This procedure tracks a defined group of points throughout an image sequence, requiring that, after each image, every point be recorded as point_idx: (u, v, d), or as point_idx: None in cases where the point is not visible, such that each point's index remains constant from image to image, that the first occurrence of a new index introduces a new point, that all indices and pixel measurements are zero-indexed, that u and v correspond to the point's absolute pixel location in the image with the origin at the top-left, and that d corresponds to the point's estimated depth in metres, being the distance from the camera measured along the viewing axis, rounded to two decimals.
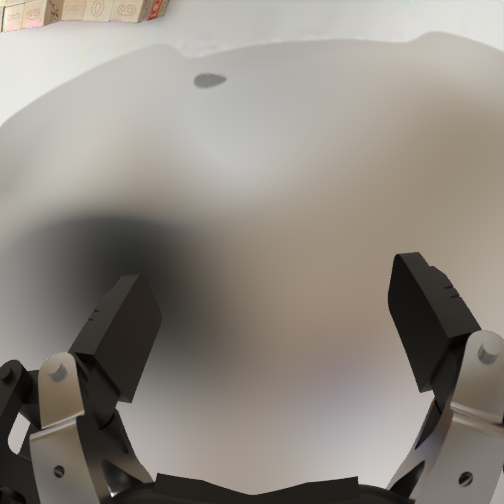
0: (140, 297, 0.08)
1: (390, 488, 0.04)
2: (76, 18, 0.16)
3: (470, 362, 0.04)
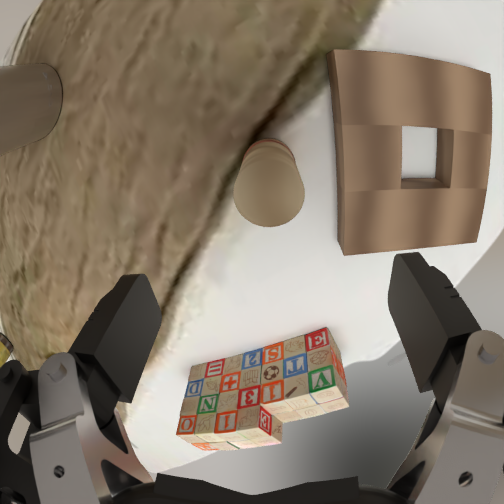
0: (140, 297, 0.08)
1: (390, 488, 0.04)
2: (296, 419, 0.31)
3: (470, 362, 0.04)
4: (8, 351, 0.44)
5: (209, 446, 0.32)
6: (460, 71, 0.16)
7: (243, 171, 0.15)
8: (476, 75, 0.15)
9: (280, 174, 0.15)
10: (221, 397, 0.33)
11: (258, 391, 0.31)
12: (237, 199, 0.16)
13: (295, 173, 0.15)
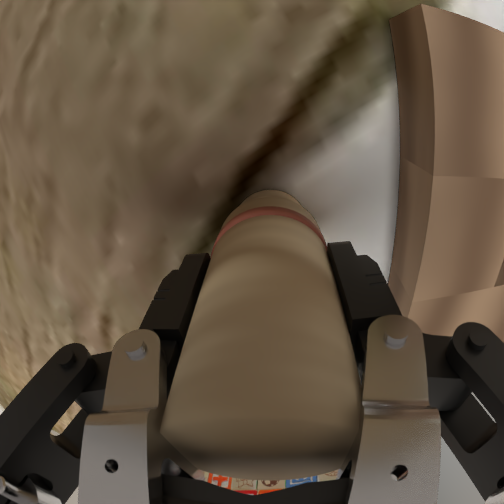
0: None
1: None
2: None
3: (376, 352, 0.05)
4: None
5: None
6: None
7: (174, 425, 0.04)
8: None
9: (305, 438, 0.04)
10: None
11: None
12: None
13: (357, 432, 0.04)
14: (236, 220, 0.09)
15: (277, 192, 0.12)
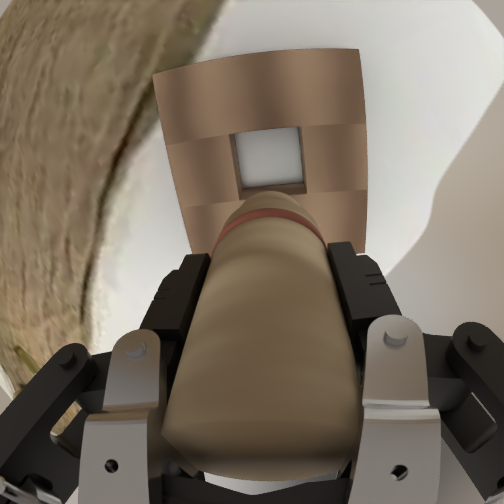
0: None
1: None
2: None
3: (376, 352, 0.05)
4: None
5: None
6: (307, 56, 0.17)
7: (175, 427, 0.04)
8: (334, 55, 0.17)
9: (305, 440, 0.04)
10: None
11: None
12: None
13: (356, 433, 0.04)
14: (236, 222, 0.09)
15: (277, 194, 0.12)
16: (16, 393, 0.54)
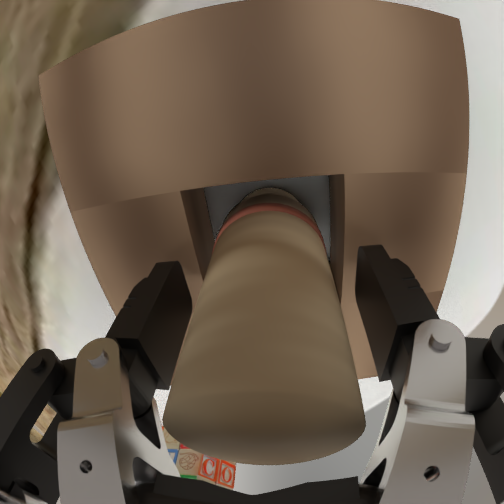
0: (176, 284, 0.09)
1: None
2: None
3: (421, 354, 0.04)
4: None
5: None
6: (360, 13, 0.06)
7: (180, 402, 0.04)
8: (416, 21, 0.06)
9: (302, 415, 0.04)
10: None
11: None
12: (179, 436, 0.05)
13: (351, 409, 0.04)
14: (237, 216, 0.10)
15: (276, 190, 0.12)
16: None
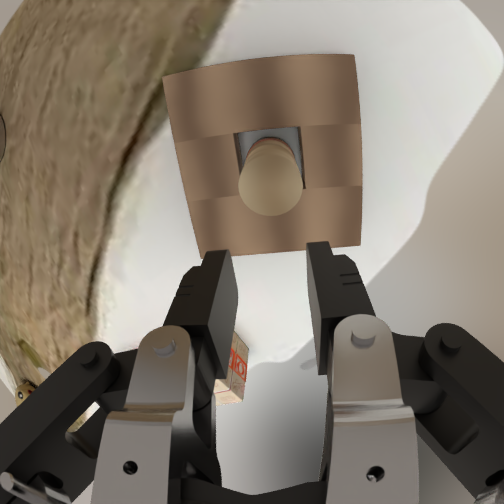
0: (228, 272, 0.09)
1: None
2: None
3: (343, 353, 0.05)
4: None
5: None
6: (306, 61, 0.19)
7: (247, 165, 0.17)
8: (331, 60, 0.19)
9: (280, 168, 0.17)
10: None
11: None
12: (242, 190, 0.18)
13: (294, 167, 0.17)
14: (257, 142, 0.22)
15: None
16: (18, 388, 0.56)
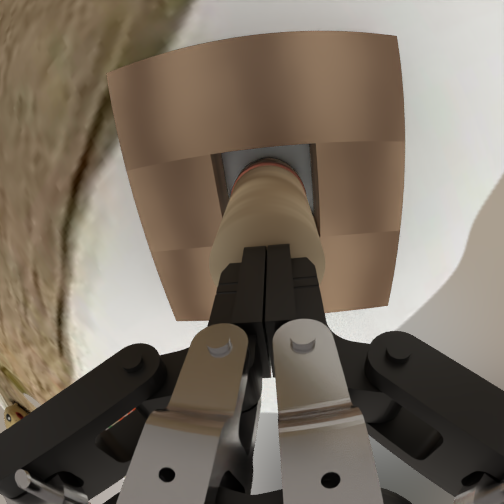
0: None
1: None
2: None
3: (284, 360, 0.05)
4: None
5: None
6: (325, 41, 0.11)
7: (224, 232, 0.09)
8: (363, 42, 0.11)
9: (286, 238, 0.09)
10: None
11: None
12: (216, 274, 0.10)
13: (312, 236, 0.09)
14: (247, 169, 0.15)
15: None
16: (7, 409, 0.48)
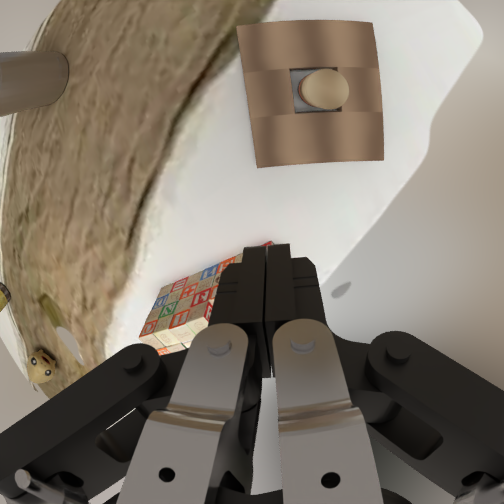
0: None
1: None
2: None
3: (284, 361, 0.05)
4: (5, 299, 0.52)
5: None
6: (340, 24, 0.24)
7: (313, 74, 0.22)
8: (356, 25, 0.23)
9: (334, 77, 0.22)
10: (180, 302, 0.41)
11: (209, 291, 0.39)
12: (308, 90, 0.23)
13: (343, 77, 0.22)
14: (307, 75, 0.27)
15: None
16: (32, 355, 0.61)
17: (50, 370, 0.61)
